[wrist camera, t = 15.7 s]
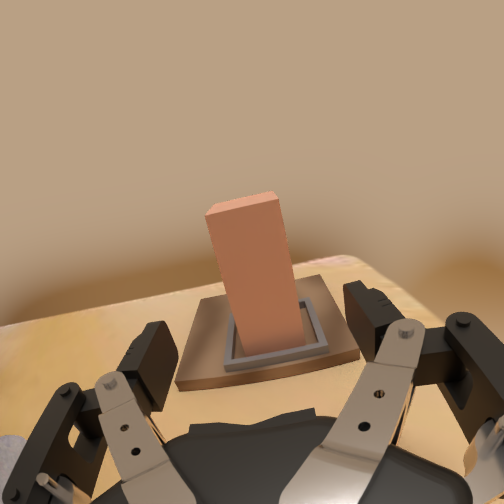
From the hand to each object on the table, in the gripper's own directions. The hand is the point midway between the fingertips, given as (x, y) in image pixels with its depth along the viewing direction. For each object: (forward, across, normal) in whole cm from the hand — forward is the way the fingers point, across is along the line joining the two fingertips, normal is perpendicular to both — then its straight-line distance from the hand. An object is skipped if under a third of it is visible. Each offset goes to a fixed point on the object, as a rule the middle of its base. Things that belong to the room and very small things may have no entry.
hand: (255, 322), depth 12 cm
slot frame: (+11, 0, +8) cm, 14 cm away
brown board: (+14, +1, +10) cm, 17 cm away
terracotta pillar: (+11, 0, +8) cm, 14 cm away
